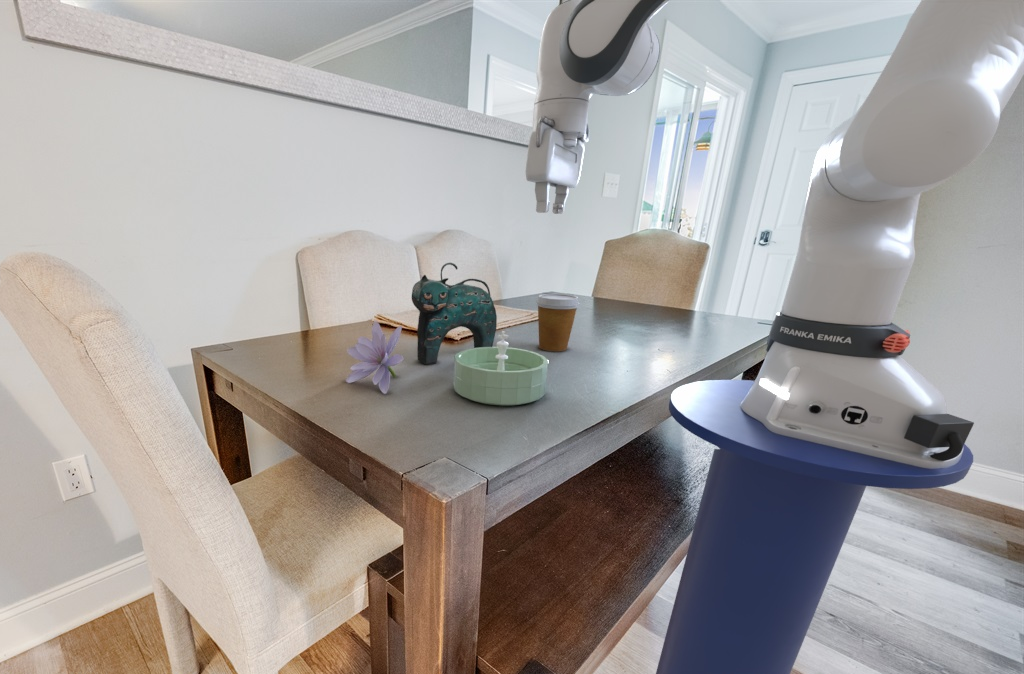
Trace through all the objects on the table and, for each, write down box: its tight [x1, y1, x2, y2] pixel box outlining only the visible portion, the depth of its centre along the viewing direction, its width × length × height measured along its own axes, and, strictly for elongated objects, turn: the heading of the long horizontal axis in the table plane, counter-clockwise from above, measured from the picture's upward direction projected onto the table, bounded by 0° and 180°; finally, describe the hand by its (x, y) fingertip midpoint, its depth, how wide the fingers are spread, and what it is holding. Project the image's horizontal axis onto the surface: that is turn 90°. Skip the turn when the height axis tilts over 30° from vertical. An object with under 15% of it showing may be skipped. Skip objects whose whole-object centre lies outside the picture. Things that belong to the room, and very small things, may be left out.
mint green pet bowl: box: [453, 346, 549, 407], centre depth 79 cm, size 16×16×6 cm
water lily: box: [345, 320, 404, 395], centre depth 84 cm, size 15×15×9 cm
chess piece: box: [495, 330, 510, 371], centre depth 78 cm, size 5×5×10 cm
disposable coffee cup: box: [535, 293, 581, 352], centre depth 106 cm, size 10×10×12 cm
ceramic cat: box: [411, 262, 498, 366], centre depth 97 cm, size 20×6×20 cm, turn 119°
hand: (550, 213), depth 83 cm, fingers open, 8 cm apart
